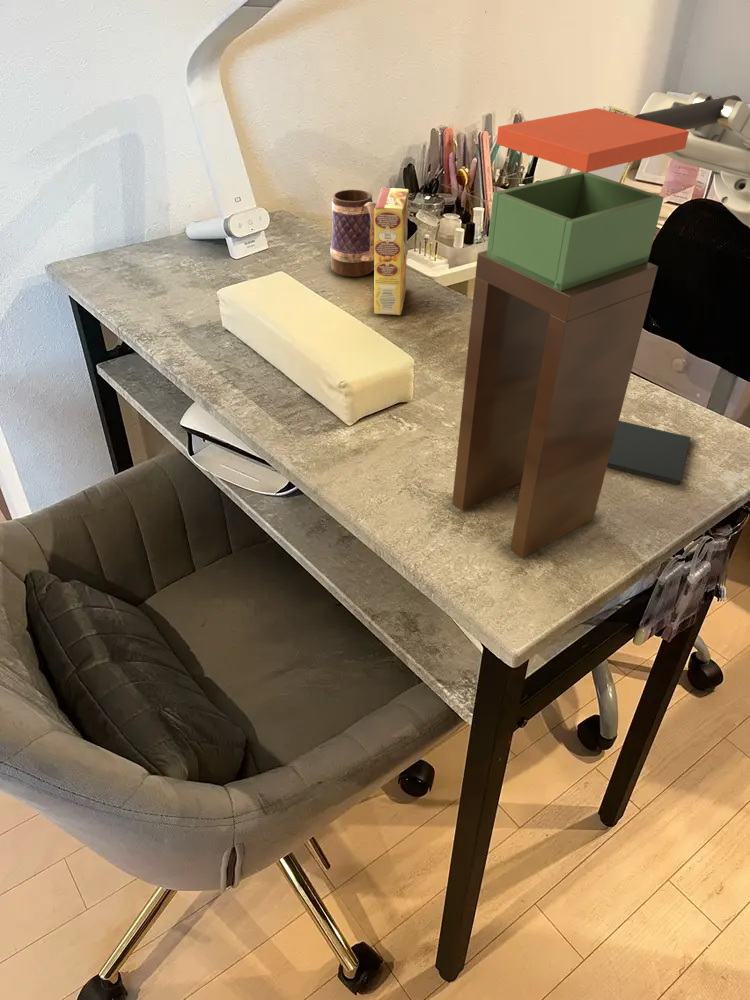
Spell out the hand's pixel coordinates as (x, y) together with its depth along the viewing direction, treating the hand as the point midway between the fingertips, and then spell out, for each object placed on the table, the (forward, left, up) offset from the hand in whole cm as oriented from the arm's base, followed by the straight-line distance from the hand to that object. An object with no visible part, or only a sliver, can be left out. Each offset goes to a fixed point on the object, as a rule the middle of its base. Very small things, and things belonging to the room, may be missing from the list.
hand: (712, 106), depth 62 cm
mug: (+47, -34, -36) cm, 68 cm away
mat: (-2, -3, -35) cm, 36 cm away
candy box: (+38, -26, -36) cm, 59 cm away
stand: (+7, +13, -35) cm, 38 cm away
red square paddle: (+4, +7, -1) cm, 8 cm away
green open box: (+7, +13, -9) cm, 17 cm away
